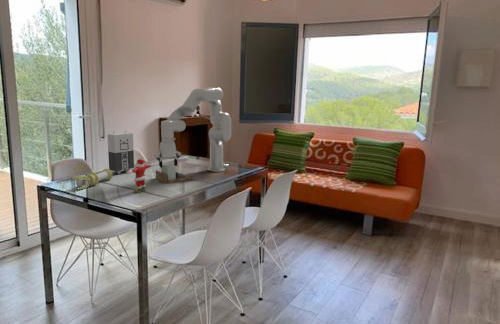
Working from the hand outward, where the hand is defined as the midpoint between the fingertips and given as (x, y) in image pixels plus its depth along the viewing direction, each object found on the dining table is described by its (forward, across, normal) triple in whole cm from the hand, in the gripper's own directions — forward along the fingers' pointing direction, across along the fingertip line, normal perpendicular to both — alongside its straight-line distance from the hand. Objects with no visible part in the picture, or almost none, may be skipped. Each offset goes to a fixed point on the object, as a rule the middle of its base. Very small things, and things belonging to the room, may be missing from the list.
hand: (168, 166), depth 240 cm
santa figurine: (+9, +24, +19) cm, 32 cm away
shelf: (+9, -3, 0) cm, 9 cm away
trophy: (+9, +44, -8) cm, 46 cm away
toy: (+9, +21, -34) cm, 41 cm away
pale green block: (+7, 0, 0) cm, 7 cm away
